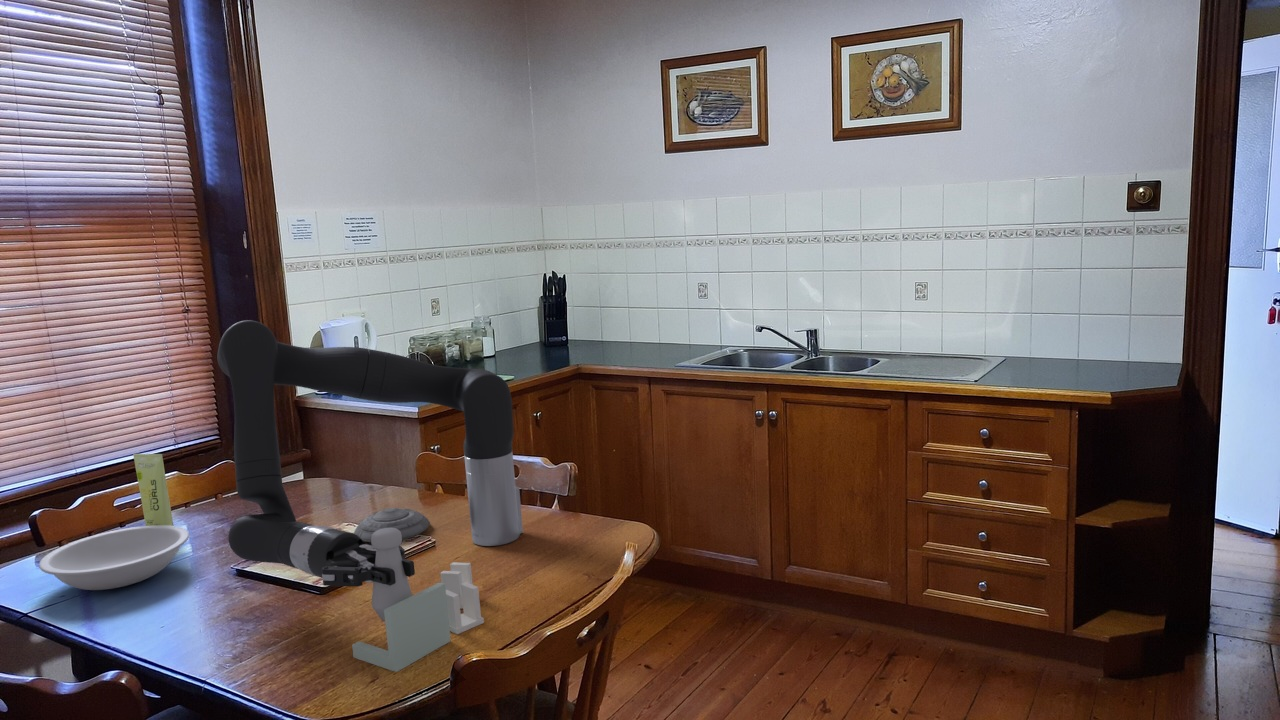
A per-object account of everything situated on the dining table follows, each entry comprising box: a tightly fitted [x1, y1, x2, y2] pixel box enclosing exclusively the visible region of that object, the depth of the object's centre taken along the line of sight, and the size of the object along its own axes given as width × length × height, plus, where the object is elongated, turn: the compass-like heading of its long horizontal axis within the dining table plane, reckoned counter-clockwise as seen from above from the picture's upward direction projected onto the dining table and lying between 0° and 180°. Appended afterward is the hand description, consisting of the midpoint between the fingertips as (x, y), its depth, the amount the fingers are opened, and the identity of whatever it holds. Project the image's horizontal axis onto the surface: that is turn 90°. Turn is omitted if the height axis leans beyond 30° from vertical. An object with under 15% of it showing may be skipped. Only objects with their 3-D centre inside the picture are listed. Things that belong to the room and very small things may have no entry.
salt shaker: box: [370, 528, 413, 622], centre depth 131 cm, size 6×6×13 cm
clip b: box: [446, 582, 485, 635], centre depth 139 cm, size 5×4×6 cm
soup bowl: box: [38, 525, 190, 591], centre depth 166 cm, size 24×24×7 cm
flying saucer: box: [353, 507, 431, 543], centre depth 183 cm, size 15×15×6 cm
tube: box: [133, 453, 175, 526], centre depth 183 cm, size 6×5×20 cm
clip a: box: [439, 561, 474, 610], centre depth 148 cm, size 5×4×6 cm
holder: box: [351, 581, 452, 673], centre depth 132 cm, size 10×9×9 cm
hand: (402, 573), depth 129 cm, fingers closed on salt shaker, 3 cm apart
